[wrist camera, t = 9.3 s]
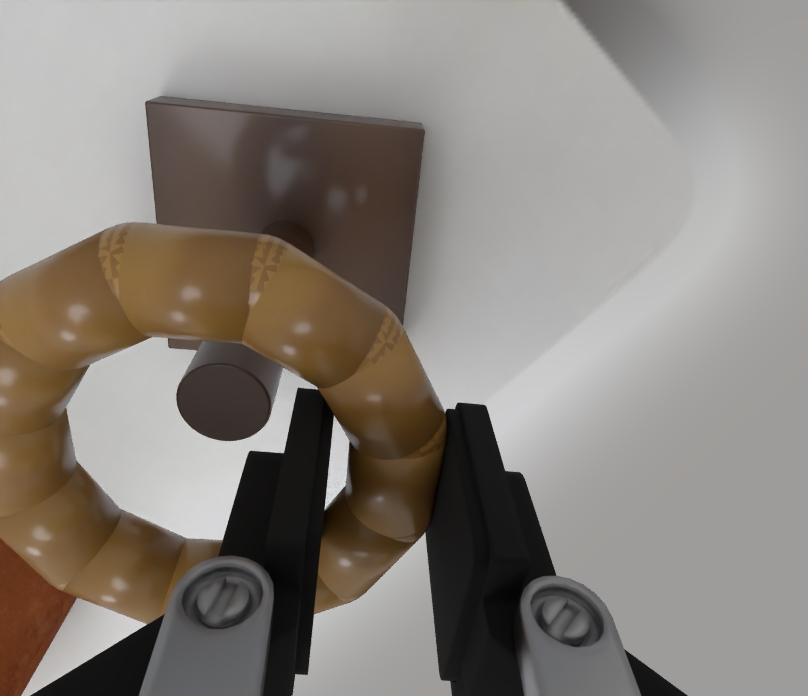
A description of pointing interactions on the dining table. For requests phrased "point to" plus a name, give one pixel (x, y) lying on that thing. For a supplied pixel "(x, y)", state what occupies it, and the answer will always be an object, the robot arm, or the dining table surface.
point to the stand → (282, 219)
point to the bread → (25, 620)
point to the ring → (218, 322)
